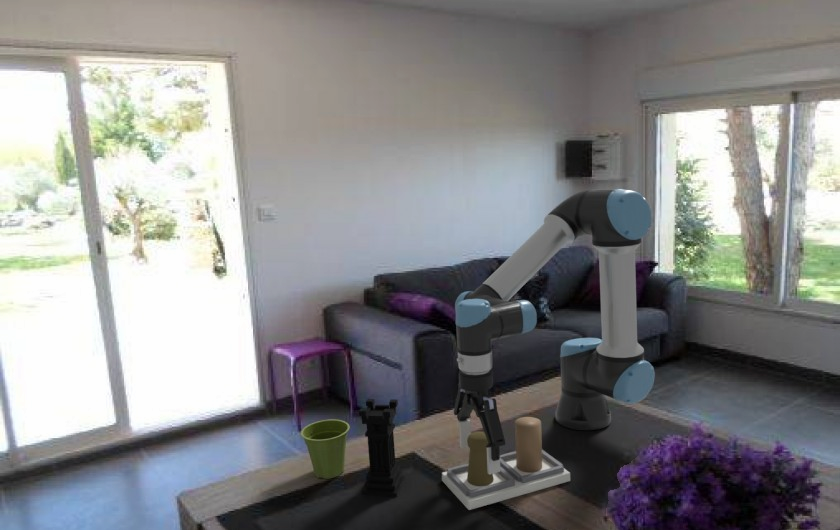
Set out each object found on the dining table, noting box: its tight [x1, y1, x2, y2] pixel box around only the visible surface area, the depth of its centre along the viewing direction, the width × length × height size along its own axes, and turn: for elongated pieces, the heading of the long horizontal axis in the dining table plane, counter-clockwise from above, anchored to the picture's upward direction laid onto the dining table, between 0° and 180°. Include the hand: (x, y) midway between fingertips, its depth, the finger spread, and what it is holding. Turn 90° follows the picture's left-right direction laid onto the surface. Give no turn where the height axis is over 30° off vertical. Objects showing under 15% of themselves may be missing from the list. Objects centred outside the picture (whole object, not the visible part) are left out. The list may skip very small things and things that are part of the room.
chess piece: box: [358, 398, 406, 497], centre depth 141 cm, size 8×8×20 cm
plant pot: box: [300, 418, 351, 480], centre depth 150 cm, size 12×12×11 cm
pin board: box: [441, 416, 571, 511], centre depth 141 cm, size 26×14×13 cm, turn 112°
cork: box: [467, 431, 494, 486], centre depth 139 cm, size 6×6×11 cm
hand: (479, 459), depth 139 cm, fingers open, 13 cm apart
